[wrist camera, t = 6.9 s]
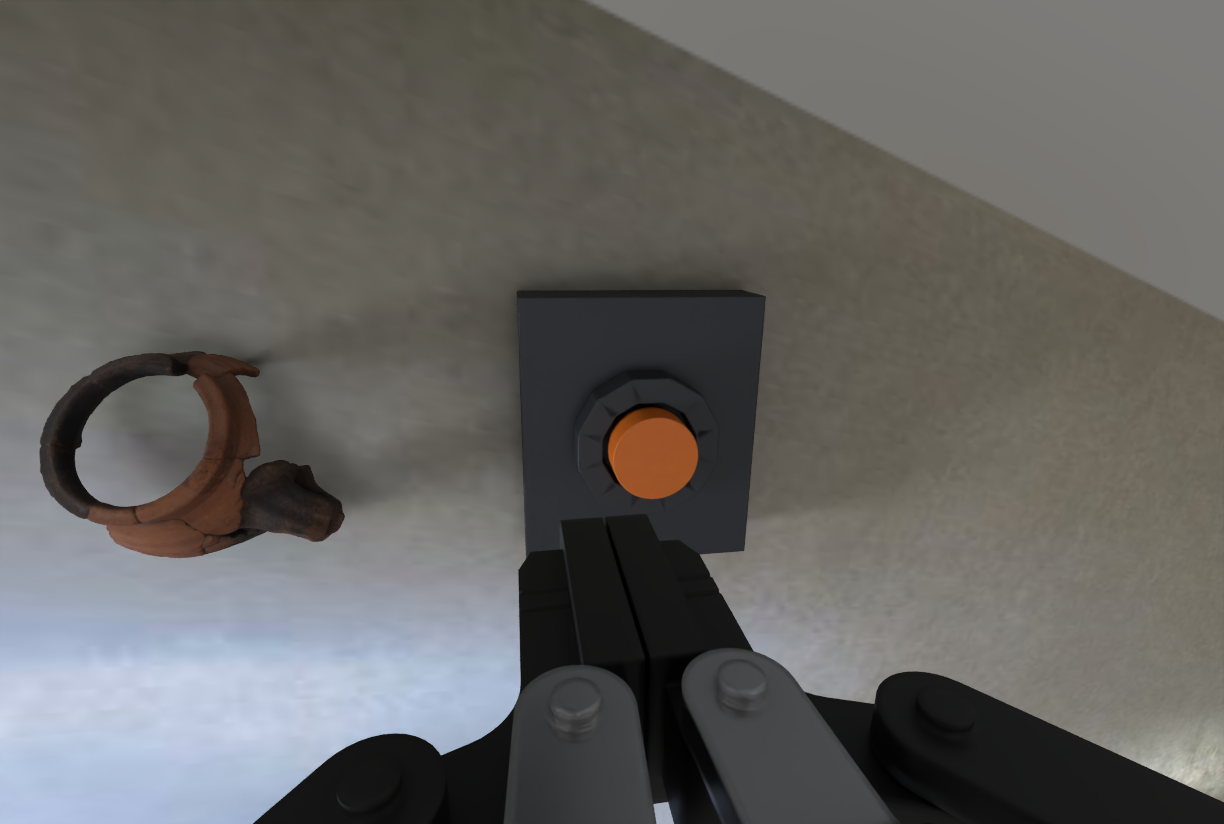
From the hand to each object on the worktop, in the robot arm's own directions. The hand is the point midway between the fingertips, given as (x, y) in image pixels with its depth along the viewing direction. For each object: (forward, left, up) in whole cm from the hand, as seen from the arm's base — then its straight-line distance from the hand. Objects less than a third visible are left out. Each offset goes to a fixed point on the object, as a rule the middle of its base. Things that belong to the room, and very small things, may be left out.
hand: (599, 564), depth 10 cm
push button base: (+4, +5, -22) cm, 23 cm away
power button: (+4, +5, -17) cm, 19 cm away
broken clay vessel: (+5, -15, -22) cm, 27 cm away
